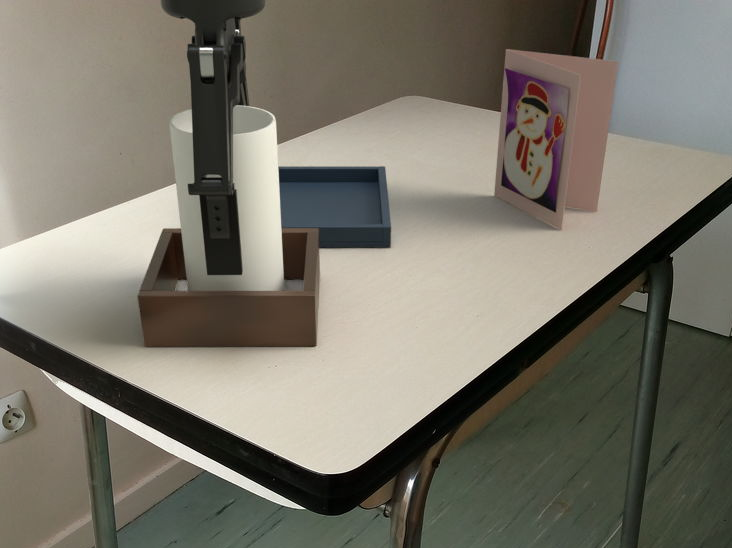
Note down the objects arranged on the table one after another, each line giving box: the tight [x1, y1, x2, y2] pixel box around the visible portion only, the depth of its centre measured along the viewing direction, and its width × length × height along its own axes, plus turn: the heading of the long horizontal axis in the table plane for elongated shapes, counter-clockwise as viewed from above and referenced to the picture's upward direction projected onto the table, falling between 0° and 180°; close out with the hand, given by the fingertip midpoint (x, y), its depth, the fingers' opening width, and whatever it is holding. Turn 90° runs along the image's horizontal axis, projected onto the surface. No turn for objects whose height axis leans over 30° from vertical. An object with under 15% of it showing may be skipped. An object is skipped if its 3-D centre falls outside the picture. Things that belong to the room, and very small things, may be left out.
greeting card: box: [493, 48, 619, 231], centre depth 103 cm, size 11×7×15 cm, turn 31°
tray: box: [278, 165, 392, 249], centre depth 105 cm, size 18×18×2 cm
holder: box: [136, 227, 321, 348], centre depth 86 cm, size 14×14×4 cm
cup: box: [169, 105, 285, 291], centre depth 83 cm, size 8×8×16 cm
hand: (232, 240), depth 84 cm, fingers open, 13 cm apart
